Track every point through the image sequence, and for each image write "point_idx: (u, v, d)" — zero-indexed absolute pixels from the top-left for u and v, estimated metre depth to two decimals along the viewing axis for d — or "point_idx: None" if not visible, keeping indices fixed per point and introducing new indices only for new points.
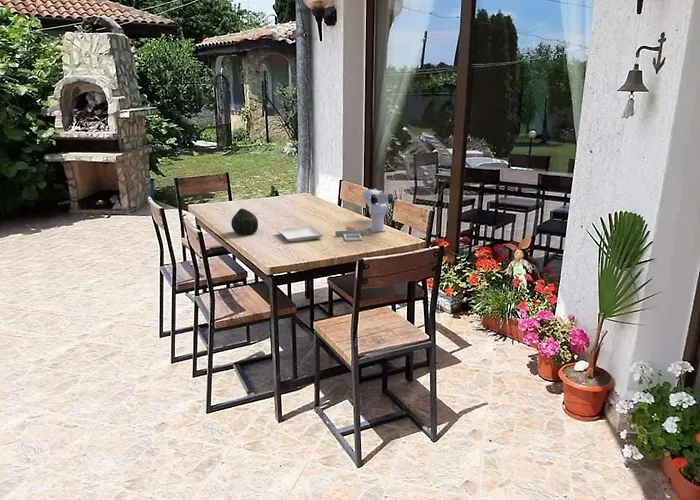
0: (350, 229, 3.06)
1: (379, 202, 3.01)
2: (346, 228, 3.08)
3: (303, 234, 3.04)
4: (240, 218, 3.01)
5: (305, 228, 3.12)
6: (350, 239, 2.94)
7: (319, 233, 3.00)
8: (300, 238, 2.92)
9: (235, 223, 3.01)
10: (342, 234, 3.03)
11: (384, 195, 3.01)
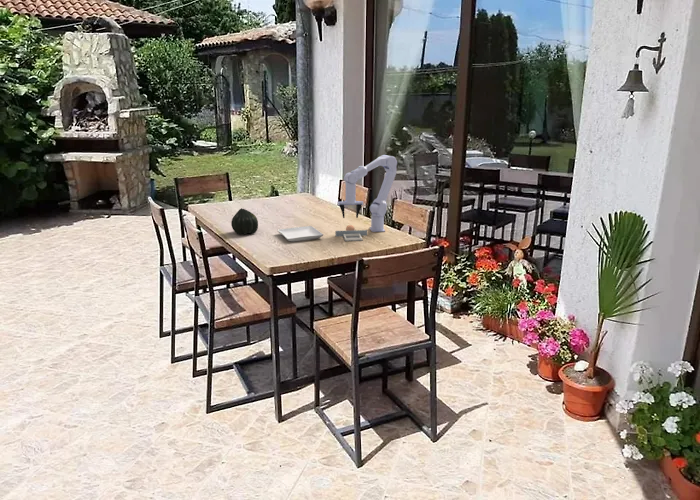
0: (350, 229, 3.06)
1: (352, 203, 3.02)
2: (346, 228, 3.08)
3: (303, 234, 3.04)
4: (240, 218, 3.01)
5: (305, 228, 3.12)
6: (350, 239, 2.94)
7: (319, 233, 3.00)
8: (300, 238, 2.92)
9: (235, 223, 3.01)
10: (342, 234, 3.03)
11: None
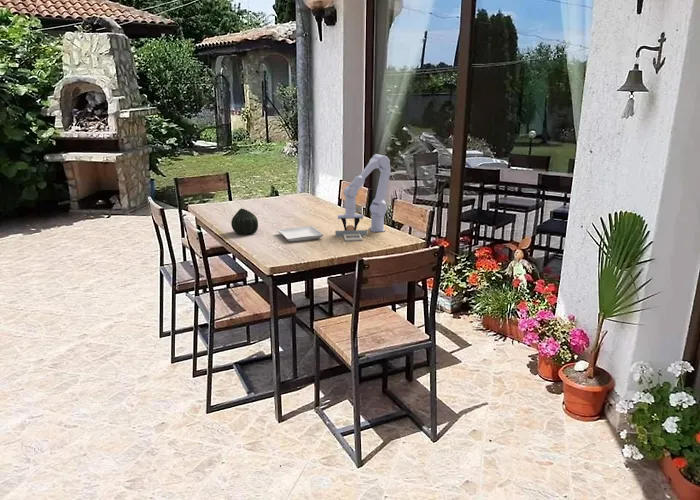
0: (350, 229, 3.06)
1: None
2: (346, 228, 3.08)
3: (303, 234, 3.04)
4: (240, 218, 3.01)
5: (305, 228, 3.12)
6: (350, 239, 2.94)
7: (319, 233, 3.00)
8: (300, 238, 2.92)
9: (235, 223, 3.01)
10: (342, 234, 3.03)
11: None
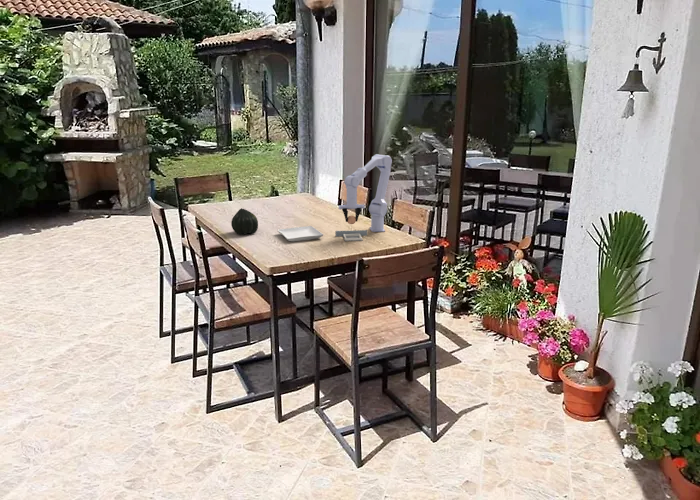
0: (352, 219, 2.98)
1: None
2: None
3: (303, 234, 3.04)
4: (240, 218, 3.01)
5: (305, 228, 3.12)
6: (350, 239, 2.94)
7: (319, 233, 3.00)
8: (300, 238, 2.92)
9: (235, 223, 3.01)
10: (342, 234, 3.03)
11: None
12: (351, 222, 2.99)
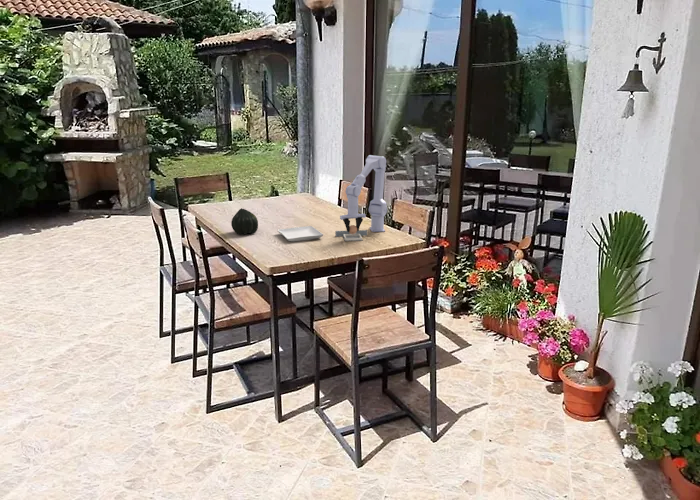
0: (354, 229, 2.95)
1: (356, 216, 2.94)
2: (349, 228, 2.96)
3: (303, 234, 3.04)
4: (240, 218, 3.01)
5: (305, 228, 3.12)
6: (350, 239, 2.94)
7: (319, 233, 3.00)
8: (300, 238, 2.92)
9: (235, 223, 3.01)
10: (342, 234, 3.03)
11: None
12: (353, 232, 2.96)
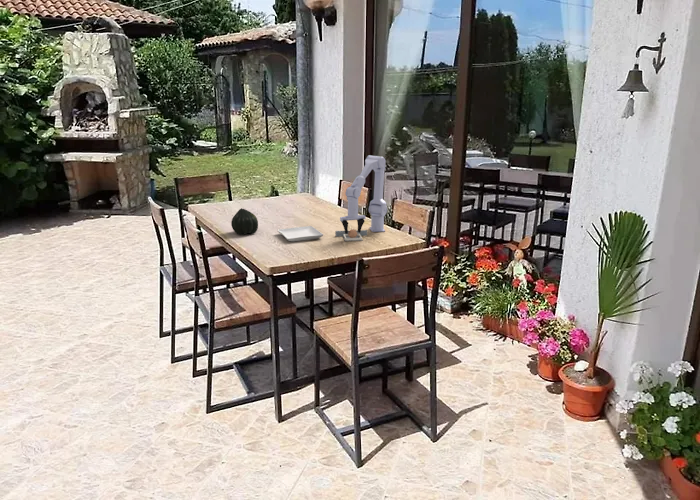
0: (354, 233, 2.96)
1: None
2: (349, 233, 2.96)
3: (303, 234, 3.04)
4: (240, 218, 3.01)
5: (305, 228, 3.12)
6: (350, 239, 2.94)
7: (319, 233, 3.00)
8: (300, 238, 2.92)
9: (235, 223, 3.01)
10: (342, 234, 3.03)
11: None
12: (353, 236, 2.96)
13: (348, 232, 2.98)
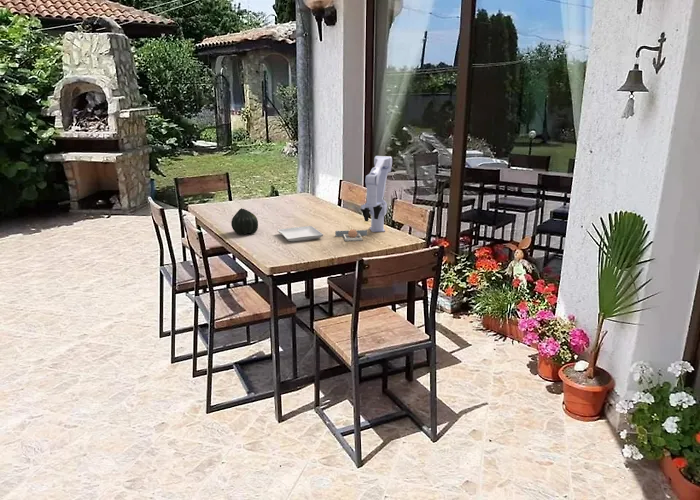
0: (354, 233, 2.96)
1: None
2: (349, 233, 2.96)
3: (303, 234, 3.04)
4: (240, 218, 3.01)
5: (305, 228, 3.12)
6: (350, 239, 2.94)
7: (319, 233, 3.00)
8: (300, 238, 2.92)
9: (235, 223, 3.01)
10: (342, 234, 3.03)
11: None
12: (353, 236, 2.96)
13: (348, 232, 2.98)
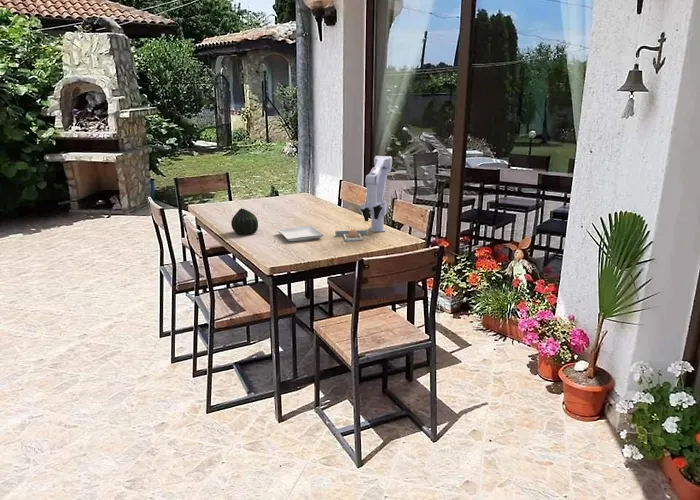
0: (354, 233, 2.96)
1: None
2: (349, 233, 2.96)
3: (303, 234, 3.04)
4: (240, 218, 3.01)
5: (305, 228, 3.12)
6: (350, 239, 2.94)
7: (319, 233, 3.00)
8: (300, 238, 2.92)
9: (235, 223, 3.01)
10: (342, 234, 3.03)
11: None
12: (353, 236, 2.96)
13: (348, 232, 2.98)
